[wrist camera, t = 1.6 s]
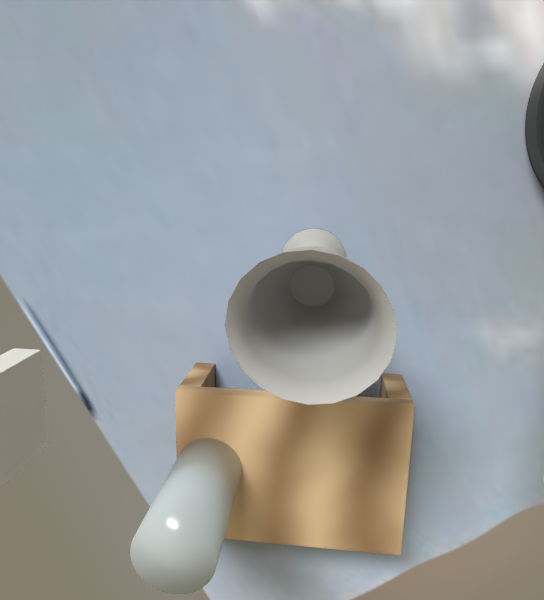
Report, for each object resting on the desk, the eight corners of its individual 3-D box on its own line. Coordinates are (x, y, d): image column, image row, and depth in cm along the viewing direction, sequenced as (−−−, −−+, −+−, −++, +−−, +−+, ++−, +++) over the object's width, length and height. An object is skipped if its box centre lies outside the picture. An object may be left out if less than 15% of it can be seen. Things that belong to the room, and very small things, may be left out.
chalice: (255, 285, 39) (205, 371, 21) (283, 203, 37) (253, 224, 20) (341, 315, 39) (361, 427, 21) (373, 235, 37) (424, 285, 20)
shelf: (401, 374, 39) (414, 407, 33) (390, 504, 42) (400, 555, 36) (196, 362, 41) (175, 391, 35) (198, 488, 44) (178, 534, 38)
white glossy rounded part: (242, 440, 35) (215, 523, 27) (242, 500, 37) (216, 598, 28) (176, 435, 36) (128, 515, 27) (177, 495, 37) (132, 589, 28)
